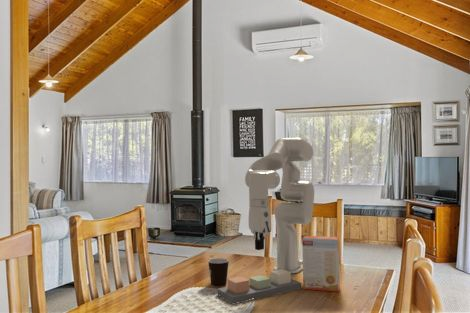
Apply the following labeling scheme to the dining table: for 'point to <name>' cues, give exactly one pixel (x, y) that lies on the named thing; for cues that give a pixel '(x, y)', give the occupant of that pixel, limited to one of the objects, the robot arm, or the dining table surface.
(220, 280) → the coffee mug
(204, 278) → the dining table surface
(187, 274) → the dining table surface
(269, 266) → the dining table surface
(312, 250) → the cracker box
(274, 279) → the cream button
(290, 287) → the button panel
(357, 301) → the dining table surface
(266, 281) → the sage button
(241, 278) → the terracotta button
